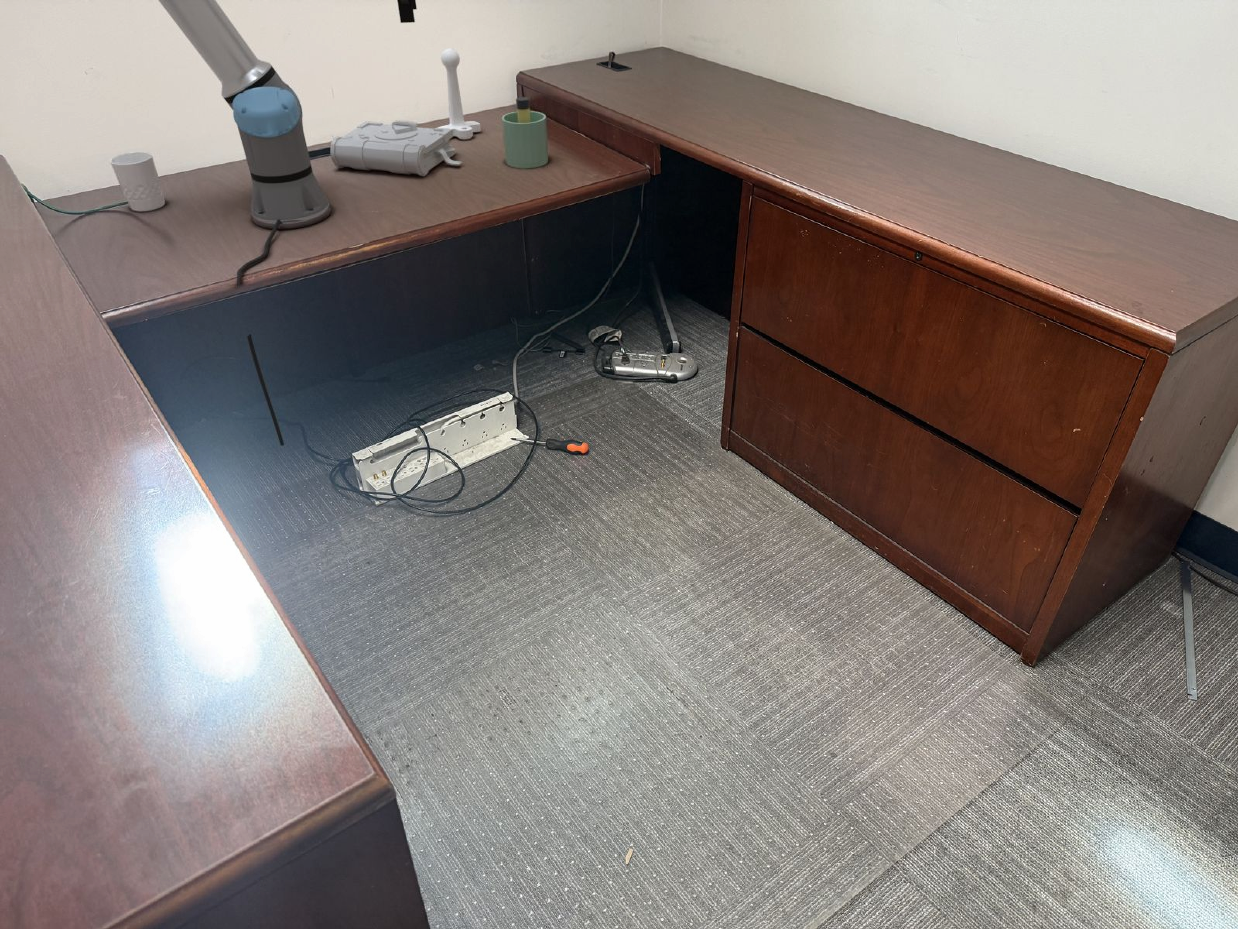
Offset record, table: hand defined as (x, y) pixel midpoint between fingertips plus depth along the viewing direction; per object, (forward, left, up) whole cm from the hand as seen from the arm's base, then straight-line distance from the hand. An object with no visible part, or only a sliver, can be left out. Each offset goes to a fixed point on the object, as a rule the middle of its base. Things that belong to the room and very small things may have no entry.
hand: (408, 15), depth 171 cm
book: (+11, +6, -33) cm, 35 cm away
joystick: (+29, -7, -33) cm, 44 cm away
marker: (+7, -22, -32) cm, 39 cm away
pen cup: (+7, -22, -33) cm, 40 cm away
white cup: (-7, +59, -33) cm, 68 cm away
